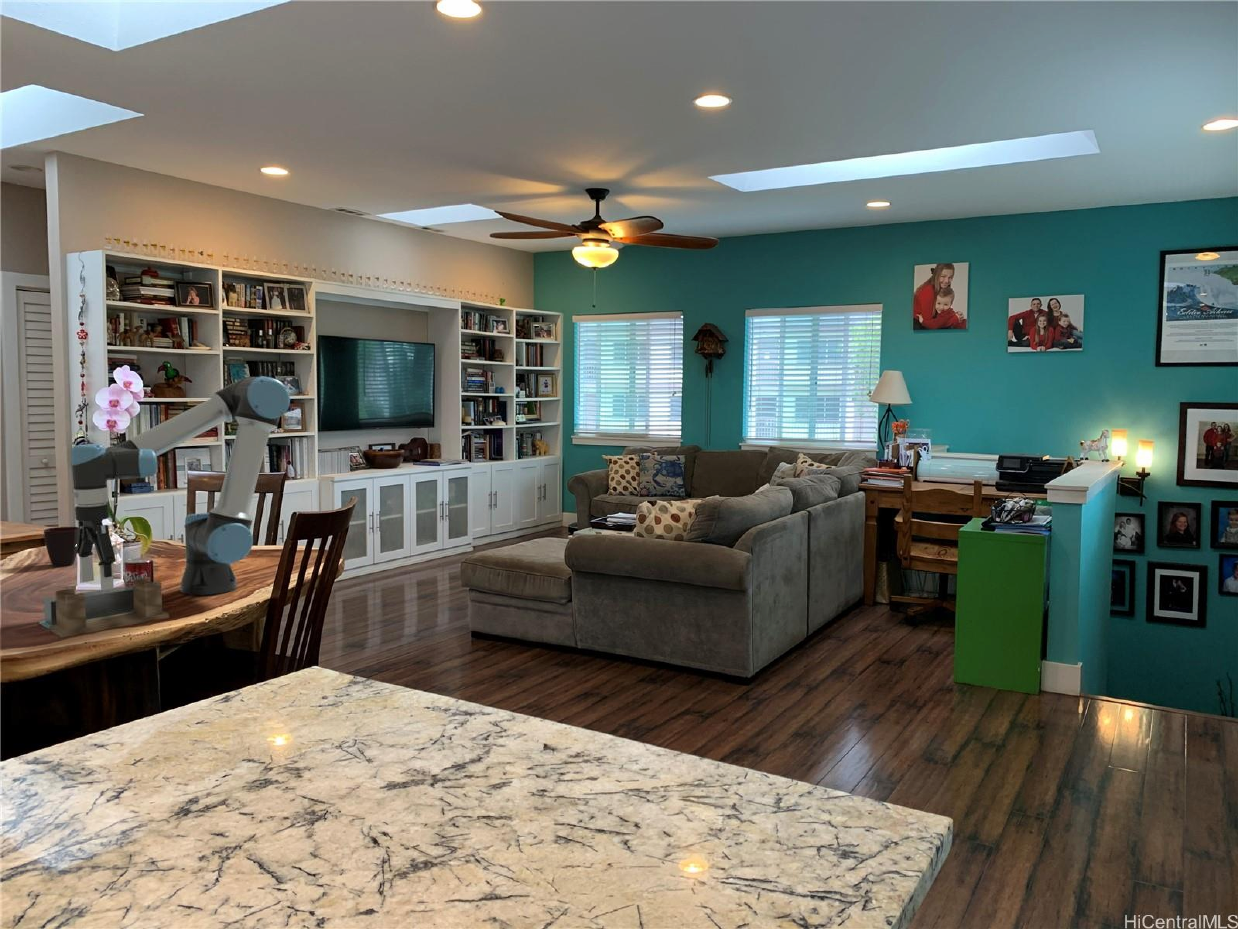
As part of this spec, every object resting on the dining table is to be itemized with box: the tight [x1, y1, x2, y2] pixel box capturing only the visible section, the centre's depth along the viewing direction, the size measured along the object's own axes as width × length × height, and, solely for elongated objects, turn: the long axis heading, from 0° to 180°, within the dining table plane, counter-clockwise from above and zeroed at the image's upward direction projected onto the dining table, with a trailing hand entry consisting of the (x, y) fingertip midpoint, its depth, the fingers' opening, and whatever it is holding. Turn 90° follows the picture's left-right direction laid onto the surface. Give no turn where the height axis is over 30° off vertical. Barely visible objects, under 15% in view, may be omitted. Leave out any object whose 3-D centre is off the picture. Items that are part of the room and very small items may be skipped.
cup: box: [43, 526, 79, 568], centre depth 300 cm, size 10×14×12 cm
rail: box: [43, 585, 134, 625], centre depth 234 cm, size 22×5×6 cm, turn 139°
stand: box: [49, 577, 170, 638], centre depth 227 cm, size 25×8×10 cm, turn 139°
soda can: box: [123, 557, 155, 587], centre depth 250 cm, size 7×7×12 cm
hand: (97, 585), depth 234 cm, fingers open, 13 cm apart
